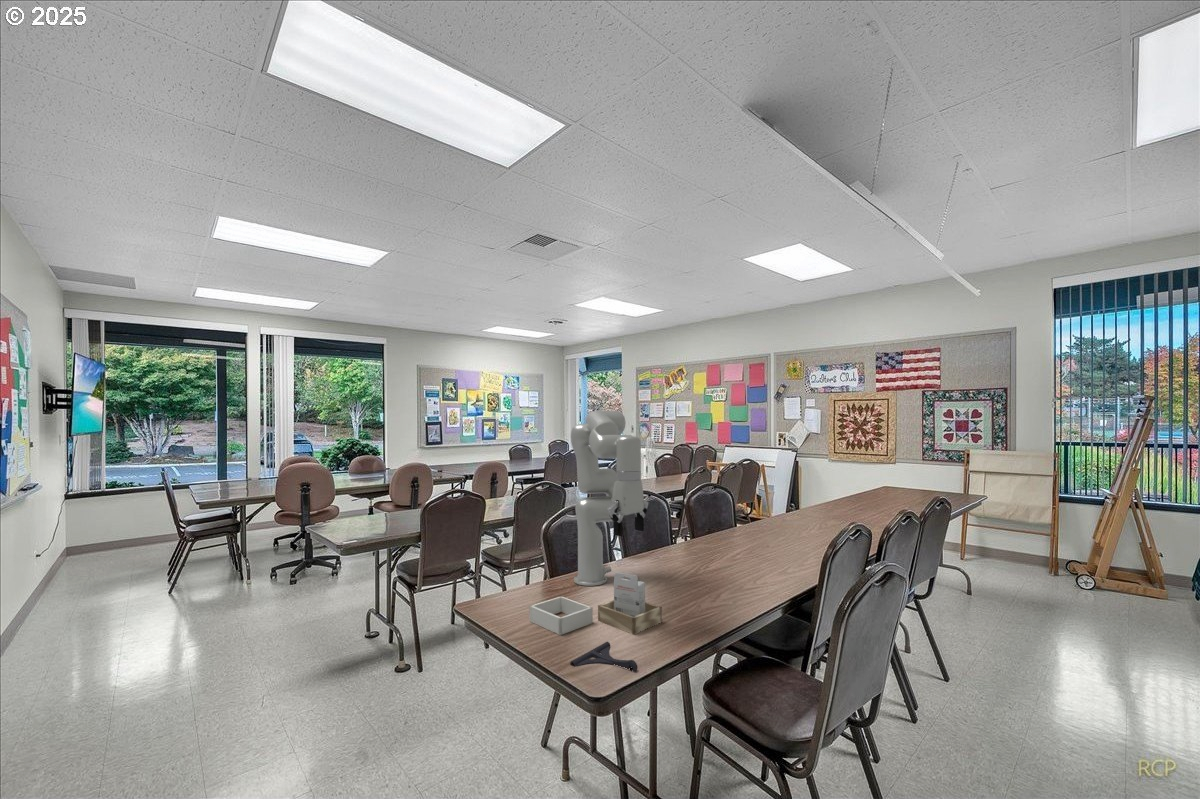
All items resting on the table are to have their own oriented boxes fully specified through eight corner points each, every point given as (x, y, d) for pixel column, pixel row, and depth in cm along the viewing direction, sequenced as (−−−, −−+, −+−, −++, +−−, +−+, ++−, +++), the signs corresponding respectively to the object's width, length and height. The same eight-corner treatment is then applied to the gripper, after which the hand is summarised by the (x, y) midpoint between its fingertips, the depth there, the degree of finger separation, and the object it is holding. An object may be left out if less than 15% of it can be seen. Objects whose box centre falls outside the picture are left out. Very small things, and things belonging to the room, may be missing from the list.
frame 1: (561, 610, 162) (561, 596, 163) (592, 622, 152) (592, 607, 152) (529, 621, 154) (529, 606, 154) (560, 635, 143) (560, 618, 143)
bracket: (618, 686, 116) (618, 673, 116) (569, 667, 125) (570, 655, 126) (652, 663, 128) (652, 652, 128) (605, 647, 137) (605, 637, 137)
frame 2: (626, 610, 163) (626, 595, 163) (662, 622, 152) (661, 607, 152) (598, 620, 154) (598, 605, 154) (634, 634, 143) (633, 618, 144)
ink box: (646, 621, 153) (645, 571, 154) (638, 626, 149) (638, 575, 150) (621, 616, 158) (621, 567, 158) (613, 621, 153) (613, 571, 154)
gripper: (638, 473, 164) (638, 526, 163) (600, 477, 152) (600, 535, 151) (656, 475, 159) (656, 530, 158) (618, 479, 147) (618, 539, 146)
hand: (628, 532), depth 155 cm, fingers open, 9 cm apart
